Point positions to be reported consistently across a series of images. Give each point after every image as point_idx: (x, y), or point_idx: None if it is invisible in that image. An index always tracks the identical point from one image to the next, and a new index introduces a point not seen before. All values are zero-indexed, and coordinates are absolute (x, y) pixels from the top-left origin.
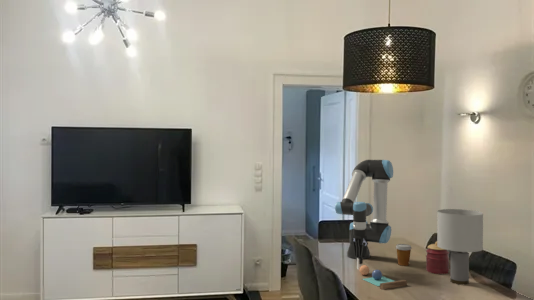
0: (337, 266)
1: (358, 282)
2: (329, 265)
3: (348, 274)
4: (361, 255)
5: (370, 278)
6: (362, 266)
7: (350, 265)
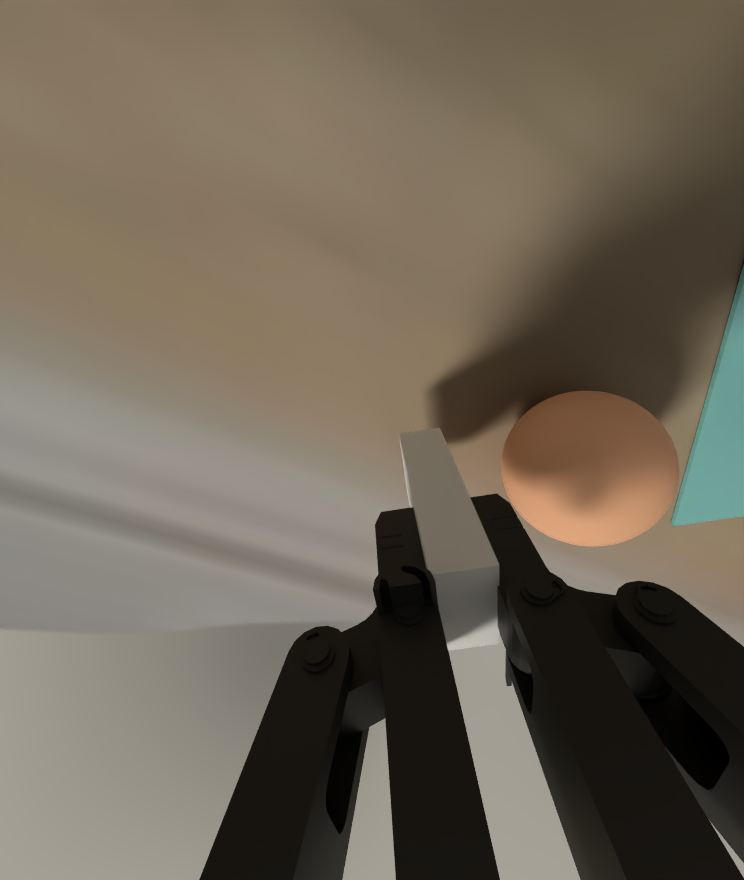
0: (102, 571)
1: (725, 583)
2: (61, 623)
3: None
4: (684, 734)
5: (730, 438)
6: (620, 541)
7: (26, 411)
